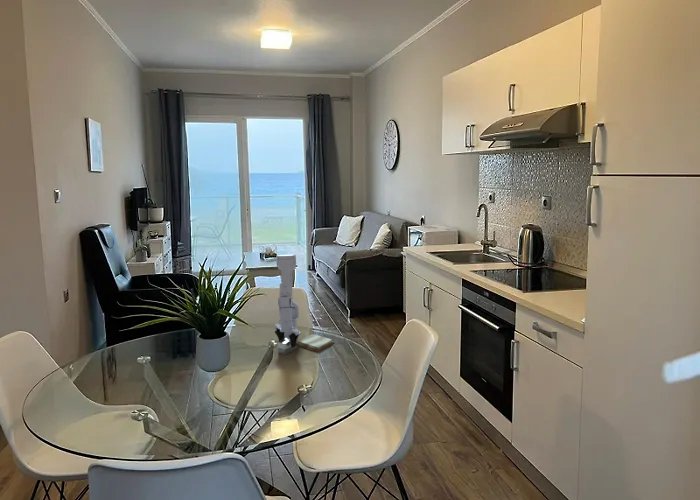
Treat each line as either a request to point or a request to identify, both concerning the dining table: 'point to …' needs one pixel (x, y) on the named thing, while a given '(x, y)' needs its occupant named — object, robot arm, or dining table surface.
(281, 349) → the housing
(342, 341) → the dining table surface
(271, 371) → the dining table surface
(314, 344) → the stand
